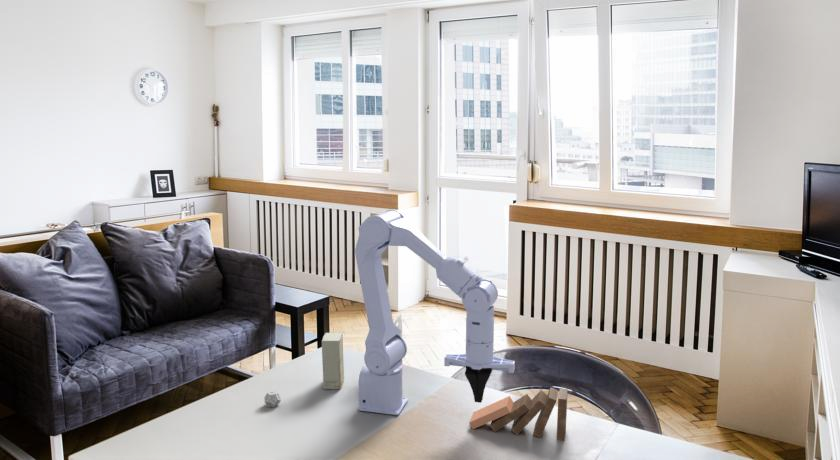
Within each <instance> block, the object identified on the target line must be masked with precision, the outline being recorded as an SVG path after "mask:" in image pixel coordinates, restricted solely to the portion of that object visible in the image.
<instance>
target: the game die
mask: <svg viewBox="0 0 840 460" xmlns="http://www.w3.org/2000/svg"><path fill="white" fill-rule="evenodd" d="M263 399H264V403H265V405H266V406H267V407H269V408H275V407H278V406H279V404H280V402H282V399H281V394H279V392H278V391H275V390H270V391H268V392H267V393H266V394H265V396H264V398H263Z"/></svg>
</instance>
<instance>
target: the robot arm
mask: <svg viewBox="0 0 840 460" xmlns="http://www.w3.org/2000/svg"><path fill="white" fill-rule="evenodd" d="M358 233H359V234H358V236H357V238H358V239H357V240H356V244H355V245H356V246H355V249H354V255H355V260H356V265H357V270H358V276H359V281H360V287H361V293H362V298H363V301H364V302H363V303H364V308H365V314H366V318H367V325H368V329H369V330H368V333H367V335H366V338H365V341H364V345H365V352H364V355H363V356H364V366H363V367H362V368H361V370H360V372H359V374H358V375H359V376H358V407H357V411H360V412H368V413H376V414H377V413H378V414H386V415H393V416H399V415H400V414H401V412H402V411H403V409H404V407H405V406H406V404H407V402H408V401H409V399H408V397H403V359H404V358H405V356H406V354H407V351H408V347H407V343H406V341H405V339H404V338H403V335H402V336H401V334H400V329H399V328H398V327H397V326H395V325H394V324H393V322H394V320H393V319H394V318H393V313H392V309H391V302H390V297H389V293H388V287H387V282H386V277H385V271H384V265H383V260H382V254H383V252H384V251H386V250H387V248H388V247H407V248H408V249H409V250H410V251H411V252H413V253H415V254H416V256H418V257H420V258H421V259H422V260H423V261H424V262H425V263H427V264H428V265H430V266H431V267H432V268H434V269H435V272H436V273H435V274H436V278H437V279H438V280H439V281H440V282H441V283H442V284H444V285H445V286H446V287H447V288H448V289H450V290H451V292H453V293H454V294H455V295H457V297H459V298H460V299H461V303H462V306H463V308H464V309H465V310H466V317H465V353H461V354H458V353H457V354H452V353H451V354H449V353H447V354H445V356H444V362H443V363H444V367H450V366H452V367H453V366H455V367H463V368H465V371H464V375H465V377H466V380H467V381H468V384H469V385H470V388H471V391H472V395H473V400H474V402H475V403H479V404H480V403H483V402H482V401H483V399H484V392H485V389H486V385H487V383H488V381H489V380H490V376H492V373H493V371H502V372H508V373H509V374H514V372H515V368H516V365H515V364H516V361H515V360H511V359H506V358H502V357H501V358H500V357H497V356H494V344H495V343H494V339H495V338H494V335H495V334H494V333H495V307H494V304H495V303H496V301H497V299H498V296H499V295H498V293H499V292H498V291H499V290H498V289H497V287H496V285H495V284H494V283H493V282H492V281H493V280H490V279H487V278H483V277H482V276H481V275H480V274H478V275H477V274H476V273H475V272H474V271H473V270H471V269H470V268H469V267H468V266H467V265H466V264H465V263H466V261H465V260H464V259H463V258H457V257H456V256H446V255H445V254H444V253H443V252H442V251H441V250H440V249H439V248H438V247H437V246H435V245H434V243H432V242H431V241H430V240H429V239H428V238H427V237H426V236H425V234H423V233H422V232H421V231H420V230H419V229H418V228H417V227H416V226H415V225H414V223H413V222H412V220H411V219H410V218H408V217H406V216H405V215H403V213H402V212H401V211H399V210H397V209H395V208H394V209H388V210H385V211H383V212H381V213H377V214H375V215H374V214H373V215H370V216H368V217H367V218H366V219H364V221H363V222H362V223H361V224H360V225H359V226H358Z"/></svg>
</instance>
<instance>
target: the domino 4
mask: <svg viewBox="0 0 840 460" xmlns="http://www.w3.org/2000/svg"><path fill="white" fill-rule="evenodd" d="M567 411H568V388H560V387H559V389H558V396H557V419H556V421H557V423H556V441H561V442H566V441H565V440H566V431H567V417H568V416H567Z"/></svg>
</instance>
